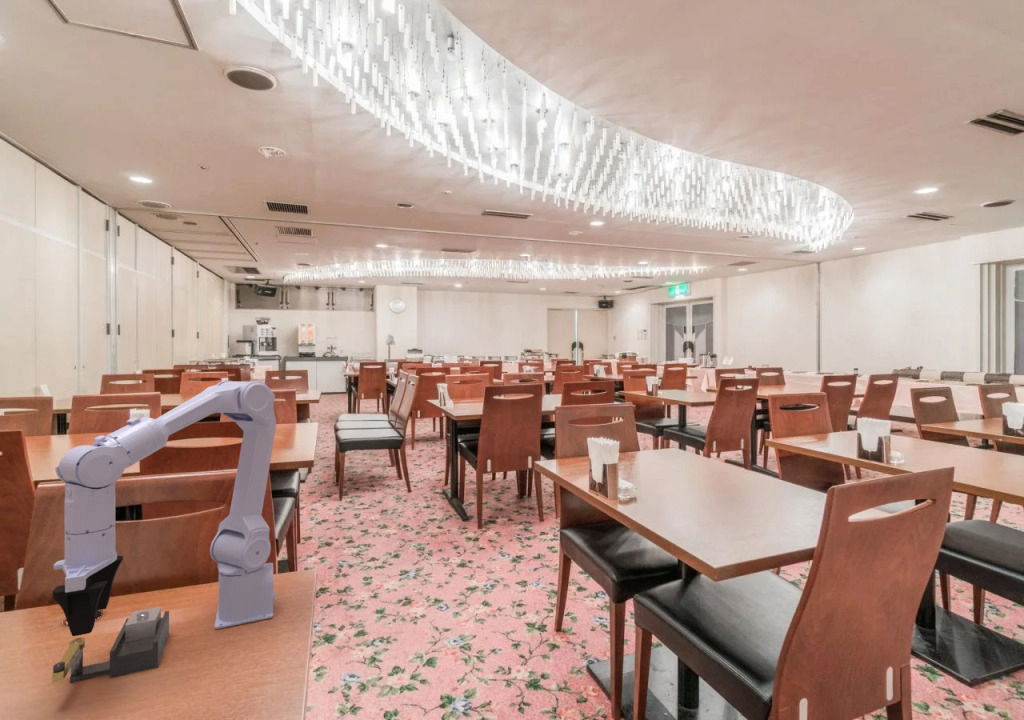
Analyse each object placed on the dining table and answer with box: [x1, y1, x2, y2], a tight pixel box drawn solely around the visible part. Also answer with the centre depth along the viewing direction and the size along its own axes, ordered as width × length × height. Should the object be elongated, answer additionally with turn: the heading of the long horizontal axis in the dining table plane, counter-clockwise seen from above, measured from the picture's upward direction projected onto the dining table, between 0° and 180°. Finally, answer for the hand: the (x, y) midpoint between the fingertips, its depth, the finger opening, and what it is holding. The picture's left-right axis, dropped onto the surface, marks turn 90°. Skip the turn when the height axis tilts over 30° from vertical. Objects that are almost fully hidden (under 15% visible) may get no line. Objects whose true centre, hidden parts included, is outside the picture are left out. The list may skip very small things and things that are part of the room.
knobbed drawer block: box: [125, 606, 162, 642], centre depth 83 cm, size 4×5×3 cm
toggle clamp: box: [69, 610, 170, 684], centre depth 81 cm, size 11×11×4 cm
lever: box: [51, 637, 86, 683], centre depth 72 cm, size 10×2×2 cm, turn 28°
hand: (90, 621), depth 74 cm, fingers open, 7 cm apart
